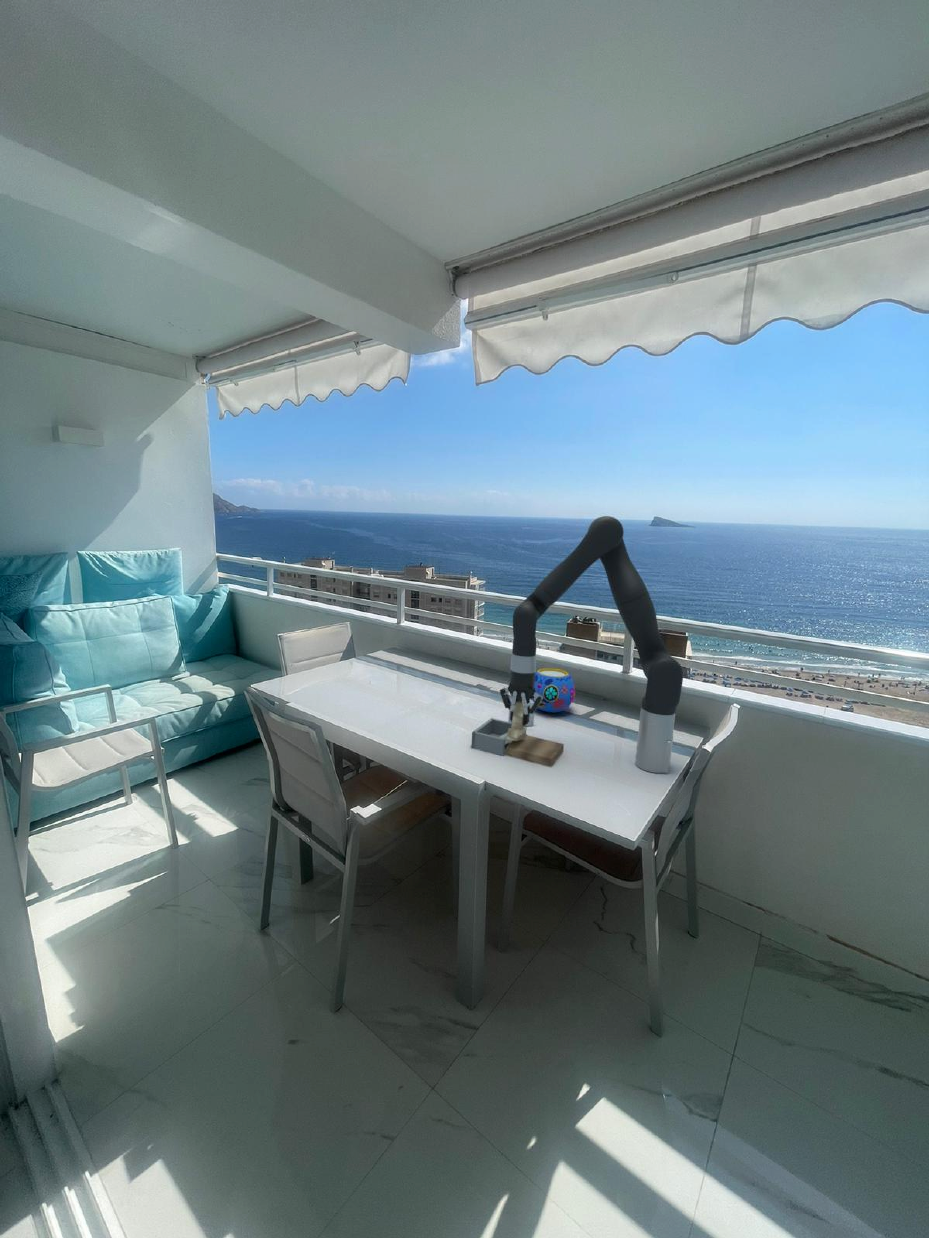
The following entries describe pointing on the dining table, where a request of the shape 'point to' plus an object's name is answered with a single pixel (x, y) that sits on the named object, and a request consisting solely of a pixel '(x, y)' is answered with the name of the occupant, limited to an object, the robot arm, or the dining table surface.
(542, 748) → the walnut plate
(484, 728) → the box
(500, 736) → the cream tile
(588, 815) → the dining table surface
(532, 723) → the medicine box
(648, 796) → the dining table surface
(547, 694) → the ceramic pot
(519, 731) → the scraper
